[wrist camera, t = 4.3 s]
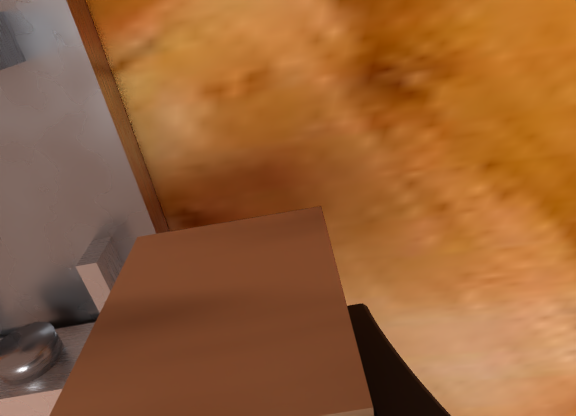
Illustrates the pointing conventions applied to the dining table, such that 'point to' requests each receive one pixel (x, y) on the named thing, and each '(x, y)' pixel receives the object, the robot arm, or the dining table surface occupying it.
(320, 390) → the block
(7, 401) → the ram
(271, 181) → the dining table surface
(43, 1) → the press frame
